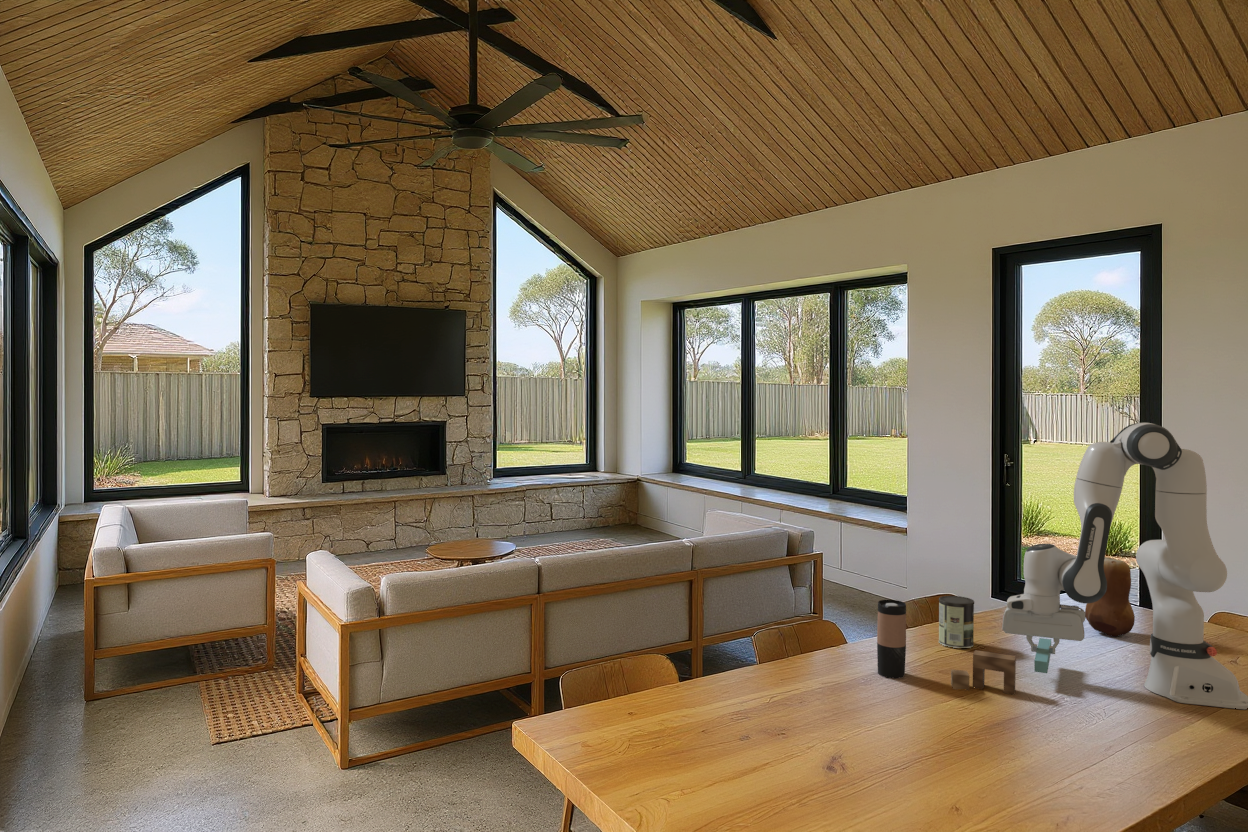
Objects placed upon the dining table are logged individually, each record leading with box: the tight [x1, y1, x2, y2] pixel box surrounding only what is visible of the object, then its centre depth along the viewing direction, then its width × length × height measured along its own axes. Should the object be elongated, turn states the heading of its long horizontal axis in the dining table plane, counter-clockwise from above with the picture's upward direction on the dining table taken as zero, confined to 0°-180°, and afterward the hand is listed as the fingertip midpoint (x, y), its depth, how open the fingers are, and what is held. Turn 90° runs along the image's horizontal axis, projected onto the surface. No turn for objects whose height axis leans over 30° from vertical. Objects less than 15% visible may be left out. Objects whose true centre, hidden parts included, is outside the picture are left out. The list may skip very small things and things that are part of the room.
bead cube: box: [950, 669, 970, 691], centre depth 216 cm, size 4×4×4 cm
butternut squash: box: [1084, 556, 1136, 638], centre depth 263 cm, size 14×13×25 cm
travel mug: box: [876, 599, 907, 679], centre depth 225 cm, size 8×8×20 cm
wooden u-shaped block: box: [972, 649, 1017, 695], centre depth 214 cm, size 10×4×9 cm, turn 60°
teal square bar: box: [1033, 637, 1052, 674], centre depth 224 cm, size 3×22×3 cm, turn 149°
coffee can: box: [938, 595, 975, 649], centre depth 252 cm, size 10×10×14 cm
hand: (1043, 652), depth 224 cm, fingers closed on teal square bar, 3 cm apart
